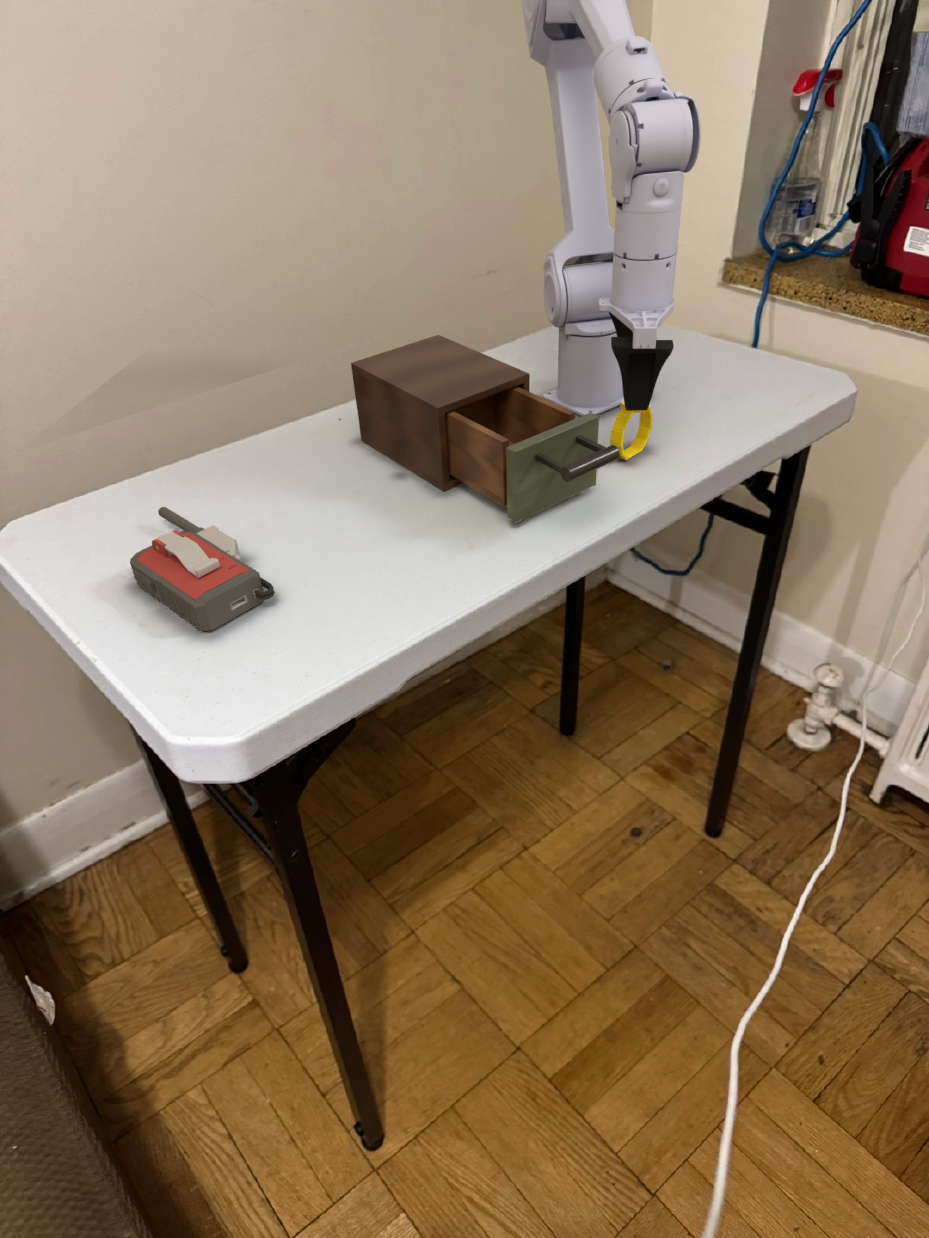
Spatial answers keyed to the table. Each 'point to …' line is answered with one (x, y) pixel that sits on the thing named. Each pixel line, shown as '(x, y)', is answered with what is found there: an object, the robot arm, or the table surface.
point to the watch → (642, 433)
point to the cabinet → (424, 400)
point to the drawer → (524, 450)
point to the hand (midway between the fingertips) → (634, 392)
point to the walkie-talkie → (199, 574)
